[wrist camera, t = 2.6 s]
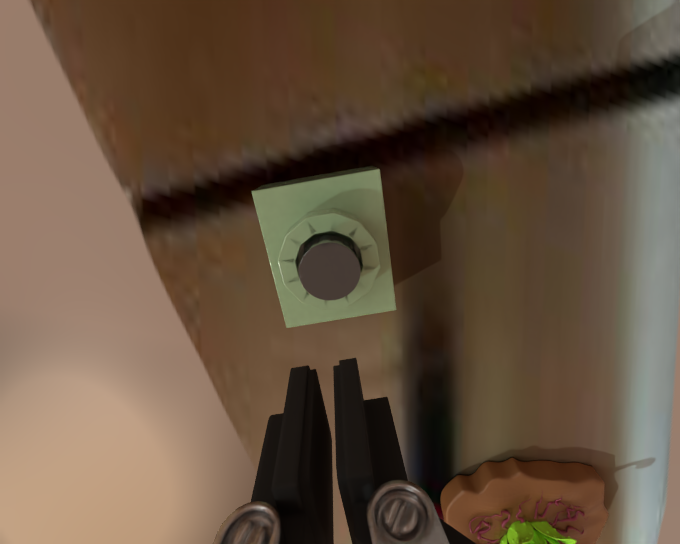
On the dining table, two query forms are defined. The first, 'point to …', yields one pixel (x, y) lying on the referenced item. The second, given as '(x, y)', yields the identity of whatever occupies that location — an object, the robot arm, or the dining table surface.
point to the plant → (527, 503)
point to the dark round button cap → (329, 267)
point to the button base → (327, 219)
